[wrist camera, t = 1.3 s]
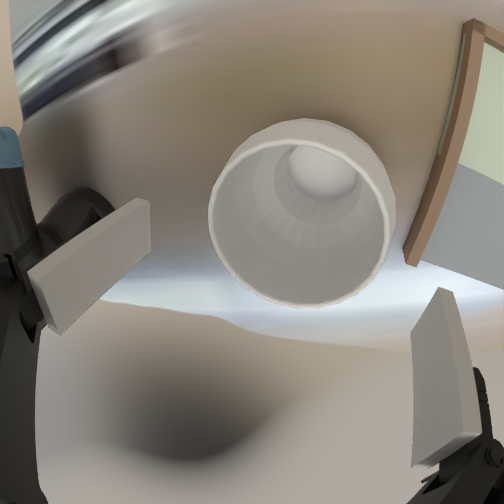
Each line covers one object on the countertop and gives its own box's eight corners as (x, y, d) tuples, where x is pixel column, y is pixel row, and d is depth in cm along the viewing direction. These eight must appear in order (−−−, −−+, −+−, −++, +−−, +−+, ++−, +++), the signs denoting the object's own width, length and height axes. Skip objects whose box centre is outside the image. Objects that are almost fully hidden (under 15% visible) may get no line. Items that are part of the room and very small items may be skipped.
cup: (391, 205, 27) (410, 305, 15) (290, 225, 32) (239, 322, 19) (363, 97, 23) (373, 99, 11) (255, 127, 27) (168, 165, 15)
